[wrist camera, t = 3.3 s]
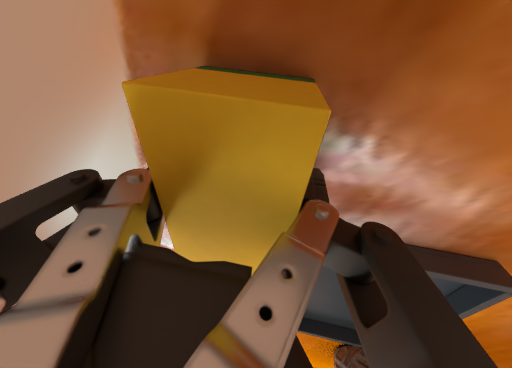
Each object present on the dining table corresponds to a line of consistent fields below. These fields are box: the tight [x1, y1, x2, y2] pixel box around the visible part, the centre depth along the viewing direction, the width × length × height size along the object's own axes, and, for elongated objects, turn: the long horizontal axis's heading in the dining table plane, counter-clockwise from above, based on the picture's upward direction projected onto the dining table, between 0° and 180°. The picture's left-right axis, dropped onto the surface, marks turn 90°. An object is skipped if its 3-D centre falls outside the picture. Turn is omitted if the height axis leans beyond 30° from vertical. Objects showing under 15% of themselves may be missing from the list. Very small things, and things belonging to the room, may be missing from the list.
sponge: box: [122, 66, 331, 276], centre depth 9 cm, size 9×6×6 cm, turn 175°
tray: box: [297, 244, 512, 347], centre depth 18 cm, size 17×13×2 cm
